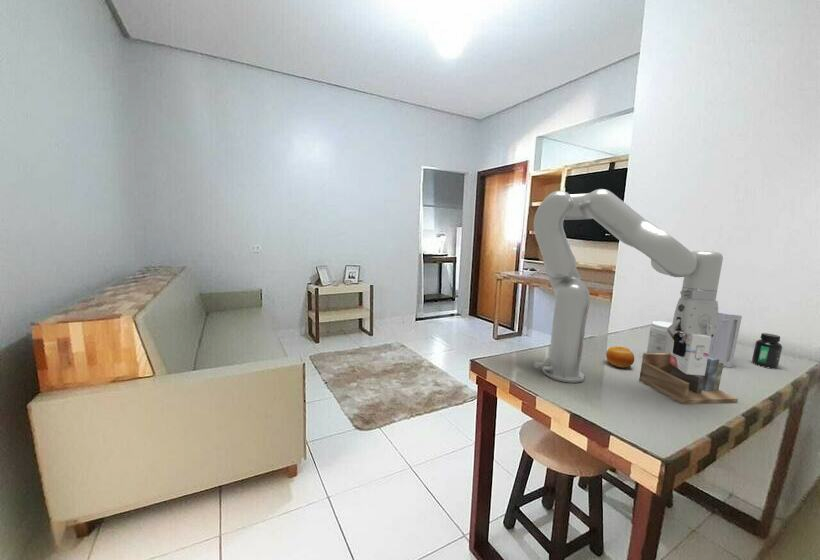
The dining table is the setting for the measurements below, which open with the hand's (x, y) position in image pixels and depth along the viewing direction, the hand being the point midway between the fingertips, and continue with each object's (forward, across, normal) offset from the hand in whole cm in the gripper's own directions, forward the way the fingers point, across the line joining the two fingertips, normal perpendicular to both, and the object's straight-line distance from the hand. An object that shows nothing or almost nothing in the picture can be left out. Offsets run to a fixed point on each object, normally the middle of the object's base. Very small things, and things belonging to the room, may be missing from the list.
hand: (688, 354), depth 95 cm
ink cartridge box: (+5, 0, 0) cm, 5 cm away
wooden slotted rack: (+13, +4, +3) cm, 14 cm away
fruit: (+13, -3, +22) cm, 25 cm away
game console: (+13, +44, +32) cm, 56 cm away
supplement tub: (+13, +17, +25) cm, 33 cm away
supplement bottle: (+13, +57, +21) cm, 62 cm away
